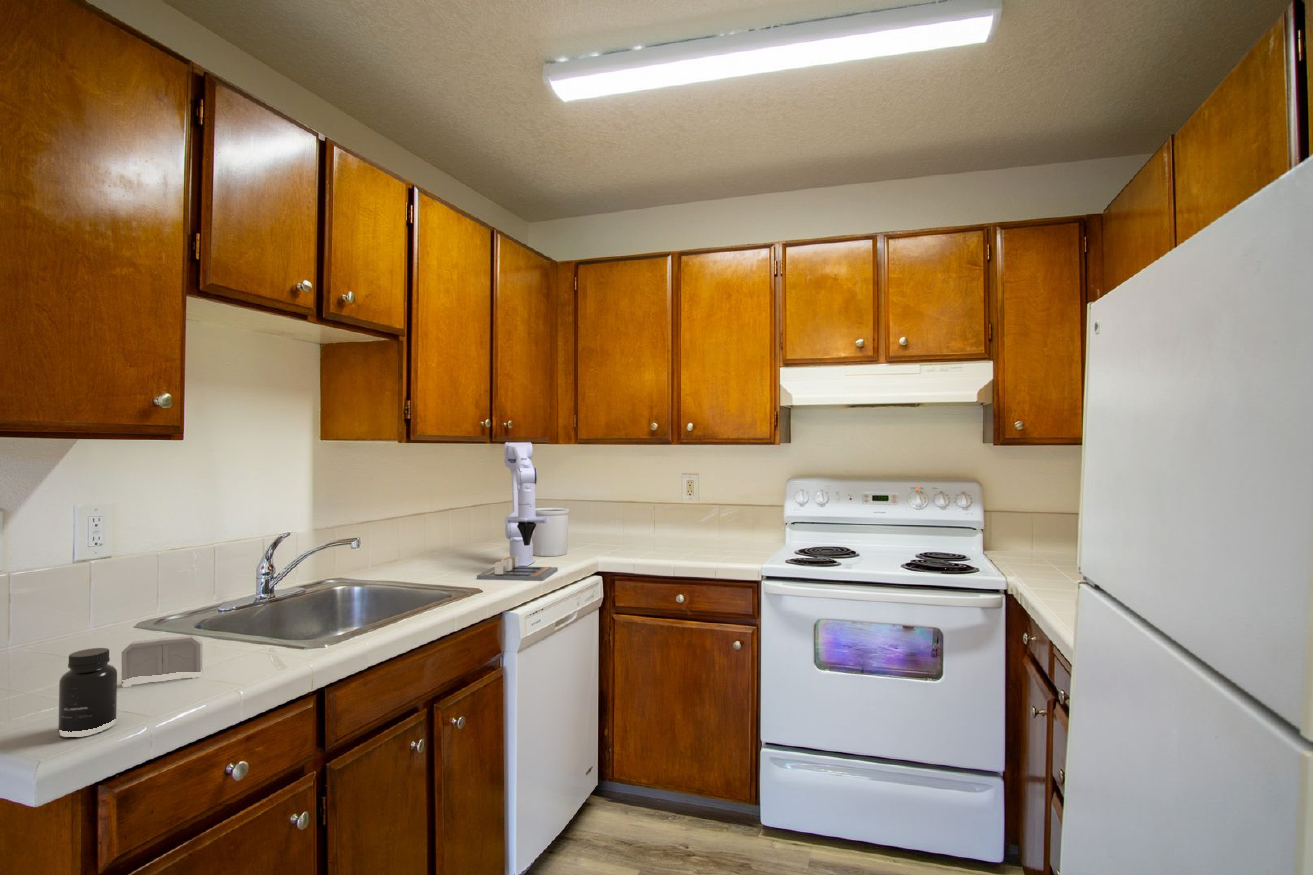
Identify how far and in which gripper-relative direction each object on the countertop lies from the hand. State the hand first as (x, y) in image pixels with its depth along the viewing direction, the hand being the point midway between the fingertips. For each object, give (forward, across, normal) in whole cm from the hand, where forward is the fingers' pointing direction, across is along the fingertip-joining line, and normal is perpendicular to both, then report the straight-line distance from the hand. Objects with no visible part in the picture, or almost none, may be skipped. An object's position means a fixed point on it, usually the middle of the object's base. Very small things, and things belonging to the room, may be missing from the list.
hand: (527, 545), depth 218 cm
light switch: (+10, -35, -101) cm, 107 cm away
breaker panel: (+10, -3, 0) cm, 10 cm away
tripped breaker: (+8, -7, 0) cm, 11 cm away
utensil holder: (+10, -5, +41) cm, 43 cm away
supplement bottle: (+10, -28, -121) cm, 125 cm away
